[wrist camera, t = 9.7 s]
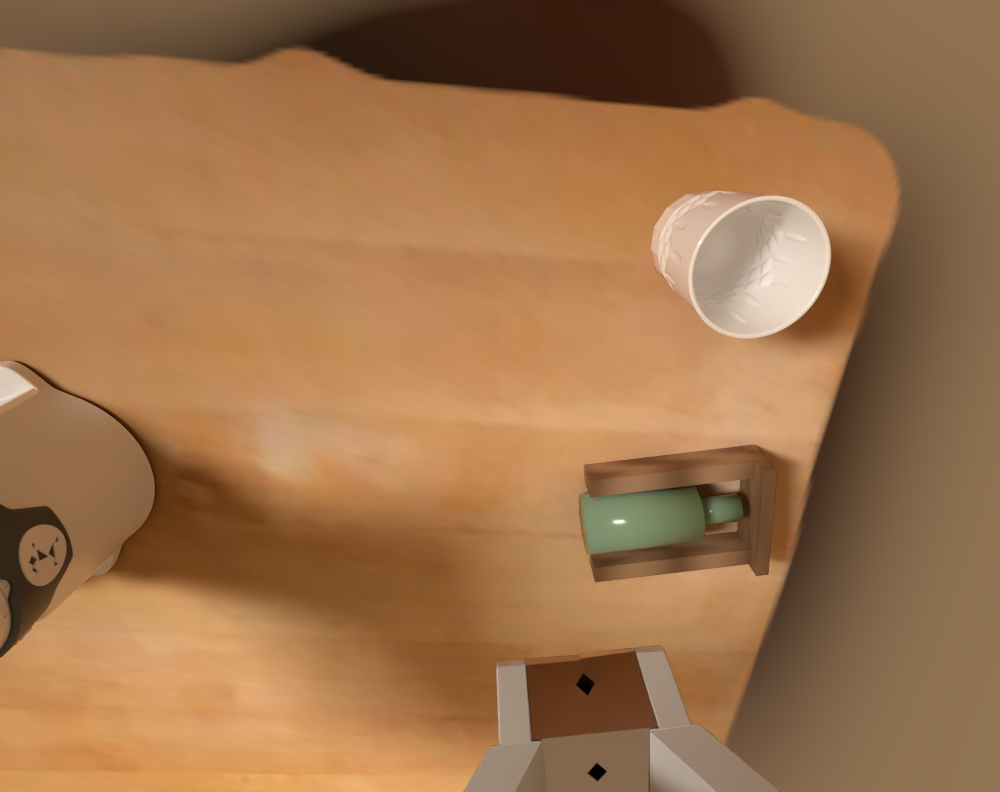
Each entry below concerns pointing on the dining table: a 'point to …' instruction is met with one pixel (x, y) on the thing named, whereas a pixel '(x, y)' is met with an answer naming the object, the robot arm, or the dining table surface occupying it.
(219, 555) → the dining table surface
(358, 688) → the dining table surface
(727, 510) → the bottle
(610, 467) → the cradle
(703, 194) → the white cup
